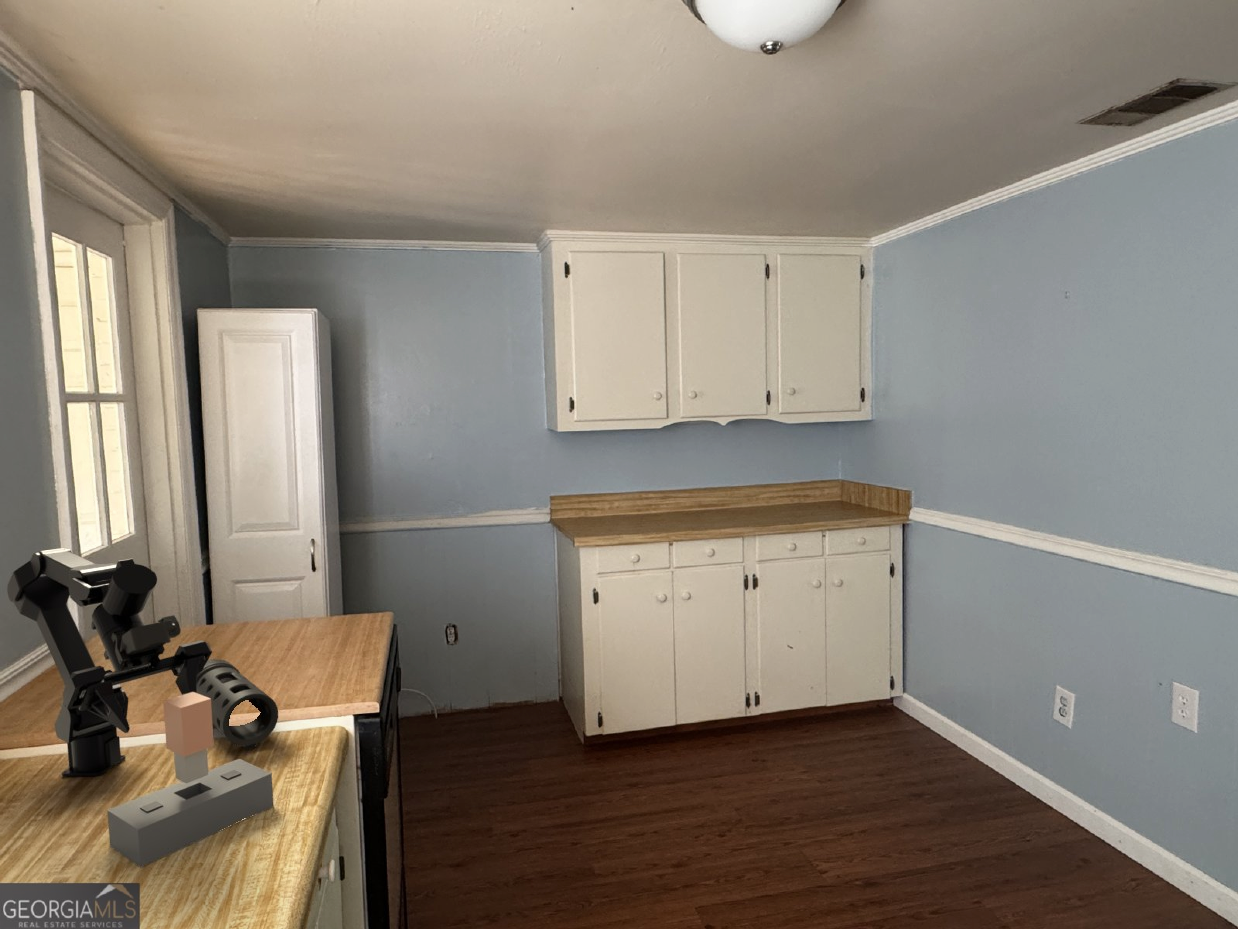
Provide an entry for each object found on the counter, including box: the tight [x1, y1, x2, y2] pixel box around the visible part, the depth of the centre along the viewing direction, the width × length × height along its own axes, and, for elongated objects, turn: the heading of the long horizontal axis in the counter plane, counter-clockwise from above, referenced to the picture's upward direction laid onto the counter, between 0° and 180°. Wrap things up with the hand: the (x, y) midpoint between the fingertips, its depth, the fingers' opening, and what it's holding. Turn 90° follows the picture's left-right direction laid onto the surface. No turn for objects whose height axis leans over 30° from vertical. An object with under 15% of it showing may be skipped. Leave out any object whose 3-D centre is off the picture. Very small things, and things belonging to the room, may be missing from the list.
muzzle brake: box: [196, 658, 279, 751], centre depth 142 cm, size 10×28×10 cm, turn 42°
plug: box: [162, 692, 215, 784], centre depth 107 cm, size 5×4×11 cm
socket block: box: [107, 758, 274, 869], centre depth 107 cm, size 9×18×5 cm, turn 145°
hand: (162, 720), depth 111 cm, fingers open, 9 cm apart
